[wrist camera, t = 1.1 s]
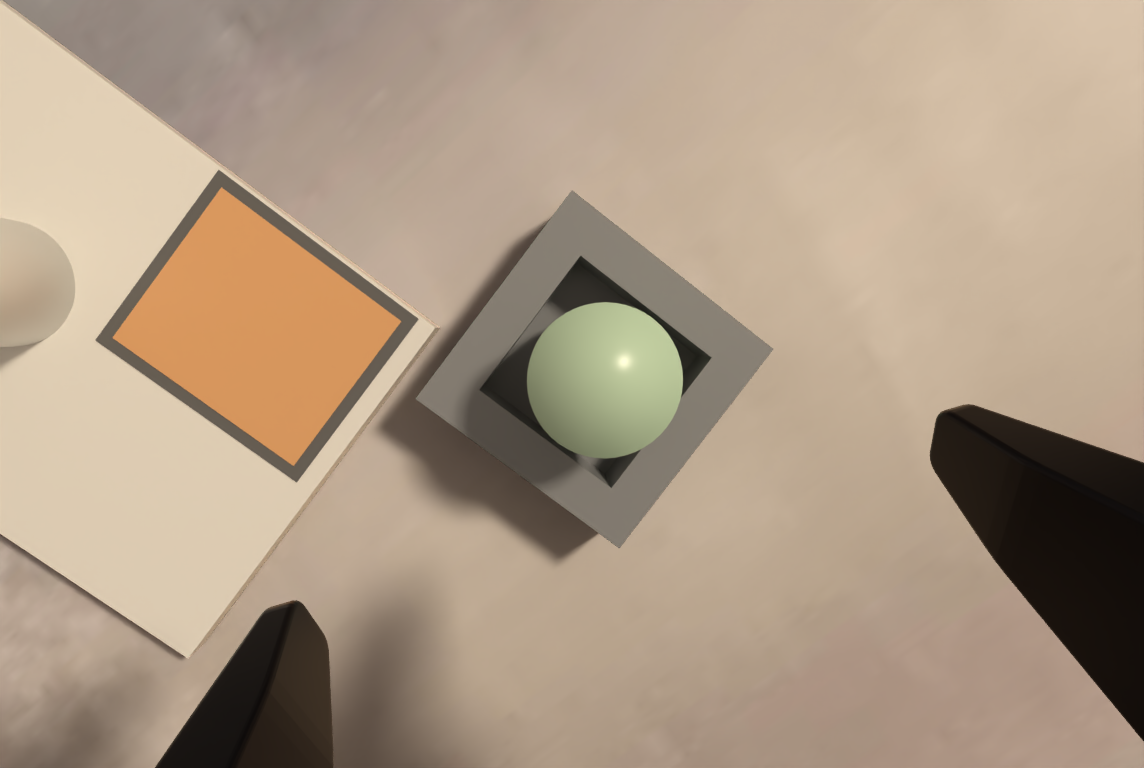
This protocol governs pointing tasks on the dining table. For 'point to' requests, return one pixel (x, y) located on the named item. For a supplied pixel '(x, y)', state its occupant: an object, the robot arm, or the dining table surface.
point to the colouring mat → (171, 353)
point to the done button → (604, 380)
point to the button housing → (536, 299)
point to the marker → (32, 284)
